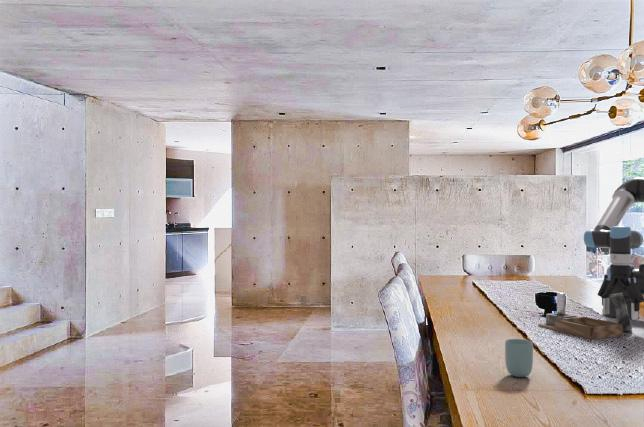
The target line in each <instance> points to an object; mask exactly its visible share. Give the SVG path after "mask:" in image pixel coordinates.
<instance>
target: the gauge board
mask: <svg viewBox="0 0 644 427" xmlns="http://www.w3.org/2000/svg"><path fill="white" fill-rule="evenodd" d="M537 325H538V327H539V326H541V327H540V328H543V327H545V328H544V329H547V328H548V329H549V330H551V329H552V331H555V330H556V332H560V333H565V334H568V335H572V336H577V337H581V338H585V339H590V340H599V339H606V338H608V339H609V338H617V337H623V336H624V331H623V324H619V323H618V322H613V321H607V320H604V319H598V318H594V317H588V316H578V317H577V315H575V314H570V313H566V312H565V316H558V315H557V312H554V313H545V323H538V324H537ZM548 329H547V330H548Z"/></svg>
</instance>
